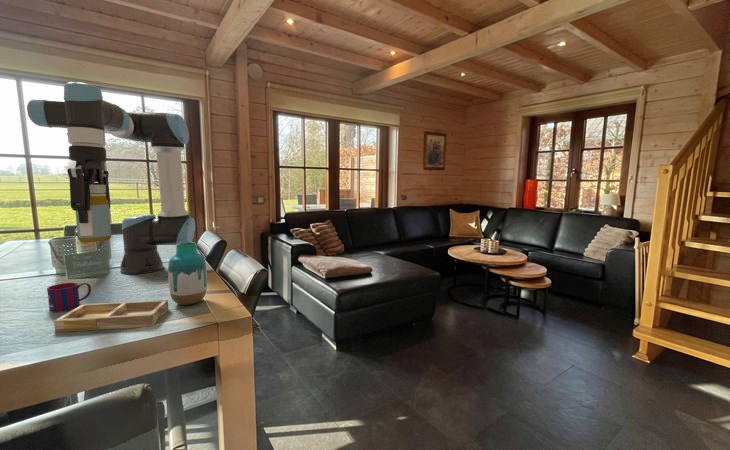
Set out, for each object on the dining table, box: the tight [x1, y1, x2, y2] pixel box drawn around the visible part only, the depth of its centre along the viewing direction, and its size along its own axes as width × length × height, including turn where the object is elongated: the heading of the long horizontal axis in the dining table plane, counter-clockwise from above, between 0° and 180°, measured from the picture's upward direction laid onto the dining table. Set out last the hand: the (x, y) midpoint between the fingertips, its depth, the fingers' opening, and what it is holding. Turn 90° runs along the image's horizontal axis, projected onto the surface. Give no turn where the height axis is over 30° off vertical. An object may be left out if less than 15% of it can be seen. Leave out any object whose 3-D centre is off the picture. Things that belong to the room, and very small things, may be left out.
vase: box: [167, 241, 208, 306], centre depth 103 cm, size 11×11×19 cm
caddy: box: [53, 299, 169, 333], centre depth 91 cm, size 12×22×3 cm, turn 102°
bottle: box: [75, 185, 112, 243], centre depth 89 cm, size 7×7×15 cm
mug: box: [46, 282, 92, 313], centre depth 100 cm, size 7×10×7 cm
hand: (94, 233), depth 89 cm, fingers closed on bottle, 6 cm apart
